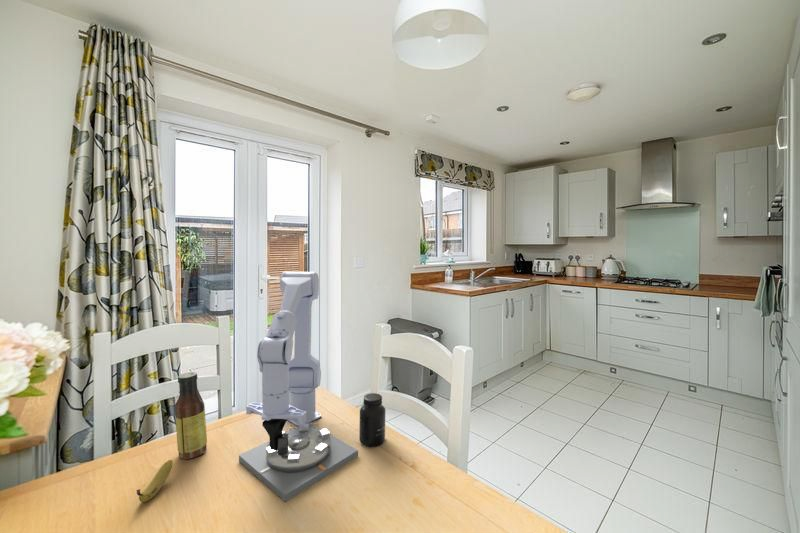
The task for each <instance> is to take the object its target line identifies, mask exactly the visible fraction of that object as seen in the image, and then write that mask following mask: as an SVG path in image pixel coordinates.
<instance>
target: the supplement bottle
mask: <svg viewBox="0 0 800 533" xmlns="http://www.w3.org/2000/svg"><path fill="white" fill-rule="evenodd" d="M382 400H383V396H382V395H381V394H379V393H377V392H376V393H374V392H370V393H366V394H365V395H364V396H363V402H362V403H363V405H362V406H361V407H360V409H359V426H358V427H359V432H358V433H359V442H360V444H361V446H364V447H367V448H378V447H380V446H381V445H383V444H384V443H385V440H386V412H387V411H386V407H385V406H384V405H383V401H382Z"/></svg>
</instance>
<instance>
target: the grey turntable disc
mask: <svg viewBox="0 0 800 533" xmlns="http://www.w3.org/2000/svg"><path fill="white" fill-rule="evenodd" d="M298 427H299V428H298ZM298 427H296V428H292V429H288V430H285V431H284V430H282V434H279V435H278V436H277V450H276V451H275V450H271V449H270V442H269V443H268V445H267V447H266V461H267V463H268V465H269V466H270V467H271V468H273V469H275V470H278V471H282V472H299V471H304V470H308V469H311V468H313V467H315V466H317V465H319V464H320V463H322V462H323V461H324V460H325V459H326V458H327V457H328V456H329V454H330V451H331V438H330V434H331V433H330V431H329V429H327V428H320V429H317V428H311V427H309V424H300V425H299V426H298ZM321 429H322V430H321Z"/></svg>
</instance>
